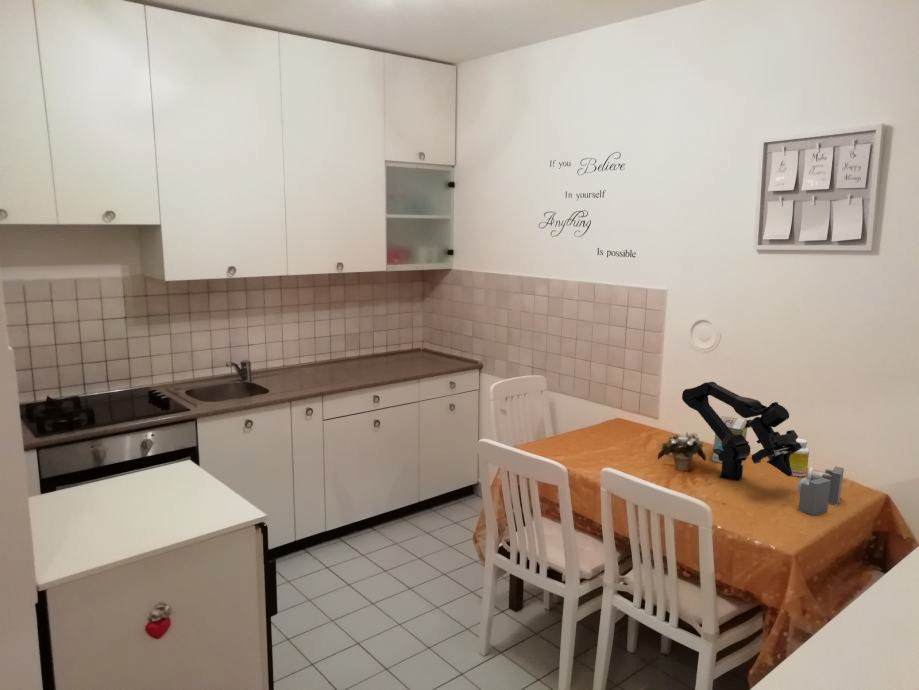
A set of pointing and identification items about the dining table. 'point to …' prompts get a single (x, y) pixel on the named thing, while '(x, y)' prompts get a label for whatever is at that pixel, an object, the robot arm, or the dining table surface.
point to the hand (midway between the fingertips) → (790, 475)
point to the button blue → (802, 482)
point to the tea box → (736, 428)
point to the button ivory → (814, 474)
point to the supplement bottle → (799, 459)
